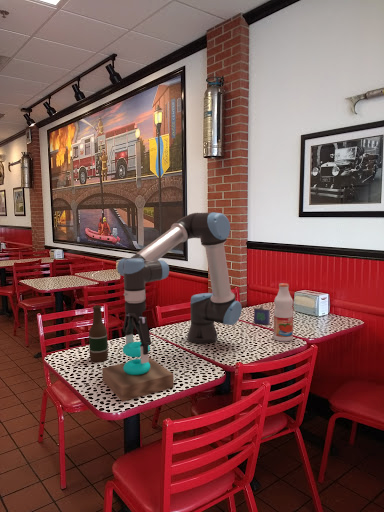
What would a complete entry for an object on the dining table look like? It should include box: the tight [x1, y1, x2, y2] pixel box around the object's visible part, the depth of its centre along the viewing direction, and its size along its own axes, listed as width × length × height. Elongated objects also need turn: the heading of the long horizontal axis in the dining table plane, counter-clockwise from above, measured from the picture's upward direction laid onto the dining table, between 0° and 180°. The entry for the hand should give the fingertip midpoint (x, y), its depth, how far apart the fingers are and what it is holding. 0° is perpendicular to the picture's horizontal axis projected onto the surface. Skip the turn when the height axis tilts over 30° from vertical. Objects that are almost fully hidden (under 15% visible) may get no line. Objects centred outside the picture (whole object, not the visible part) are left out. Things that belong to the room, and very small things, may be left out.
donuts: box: [122, 341, 151, 375], centre depth 146 cm, size 10×10×10 cm
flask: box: [253, 305, 271, 326], centre depth 223 cm, size 9×3×11 cm, turn 61°
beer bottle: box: [88, 304, 109, 363], centre depth 171 cm, size 8×8×24 cm
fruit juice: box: [273, 282, 294, 342], centre depth 196 cm, size 9×9×28 cm
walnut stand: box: [101, 357, 175, 402], centre depth 147 cm, size 20×20×5 cm
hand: (137, 356), depth 146 cm, fingers open, 13 cm apart
